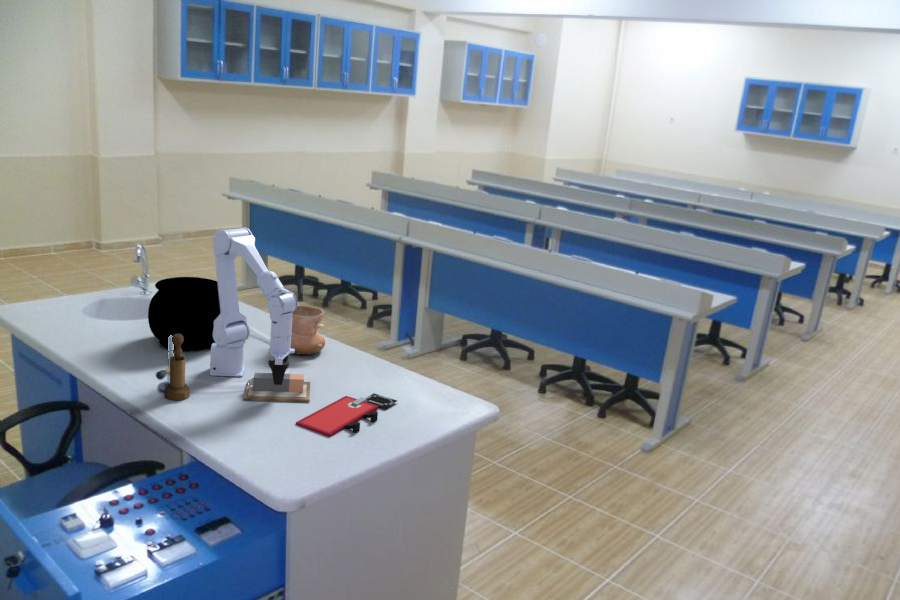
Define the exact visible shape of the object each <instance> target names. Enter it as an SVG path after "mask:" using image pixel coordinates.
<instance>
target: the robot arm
mask: <svg viewBox="0 0 900 600" xmlns="http://www.w3.org/2000/svg"><path fill="white" fill-rule="evenodd" d="M255 244H256V237H255V236H254V235H253V233H252V231H251V230H250V229H249V228H248V227H246V226H244V227H240V228H231V229H218V230H217V231H216V233H215V234H214V235H213V237H212V245H213V251H214V252H213V253H214V262H215V271H216V272H215V273H216V281H217V283H218V293H219V302H220V311H221V313H220V315H219V316H218V317H217V318H216V319H215V320H214V329H213V339H214V341H215V342H216V343H212V346H211V349H210V361H209V362H210V363H209V368H210V369H209V370H210V371H209V376H213V377H214V376H217V377H244V374H245V373H244V372H245V369H246V366H245V365H244V344H246V342H247V340H248V339H249V337H250V335H251V329H250V326H249V324H248V320H247V316H246V315H245V314H244V313H243V312H241V311H240V304H239V294H238V285H237V277H236V275H237V274H236V265H235V264H236V263H235V260H236V259H237V258H238V257H242V258H243V260H244V261H245V263H246V264H247V265H248V266H249V267H250V269H251V270H252V272H254V273H255V275H256V285H257V286H258V287H259V289H260V291H261V292H262V294H263V295H264V296H265V298H266V300H267V301H268V302H267V303H266V304H267V305H266V306H267V309H268V312H269V319H270V321H271V322H270V323H271V324H270V339H269V340H270V341H269V342H270V343H269V349H268V352H269V353H270V355H271V356H272V358H273V360H270V359H269V360H268V367H269V368H270V370H271V373H272V375H273V382H274V385H282V382H283V378H284V374H286V371H287V369H288V368H289V366H290V362H288V361H287V360H288V358H289V356H290V355H291V354H295V353H294V352H295V349H291V332H292V314H293V311H295V310H296V309H297V305H298V303H299V302H298V299H297V297H296V295H295V293H294V292H292V291H289V290H288V288H287V289H286V288H285V286H284V285H283V283H282V282H281V280H280V279H279V277H278V275H277V274H276V272H275V271H271V270H268V268H267V266H266V264H265V262H264V260H263V259H262V257H261V255H260V253H259V251H258V250H257V248H256V246H255ZM254 273H253V274H254Z"/></svg>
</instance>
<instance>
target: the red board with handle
mask: <svg viewBox="0 0 900 600" xmlns="http://www.w3.org/2000/svg"><path fill="white" fill-rule="evenodd" d="M397 402H398V400H397V399H394V398H391V397H388V396H384V395H381V394H377V393H372V394H370V395H368V396H366V397H365V398H364V397H359V398H358V399H357V398H354V397H351V396H348V395H345V396H343V397H341V398H339V399H337V400H335V401H334V402H332V403H329V404H328V405H326V406H324V407H321V408H320V409H318V410H316V411H314V412H313V413H311V414H309V415H307V416H305V417H302V419H299V420H297V421H296V422H295V426H296V425H297V426H298V427H302V428H305V429H307V430H309V431H312V432H315V433H318V434H320V435H323V436H326V437H329V438H331V437H332V436H335V435H336V434H338V433H339V432H341V431H343V430H346V429H347V430H352V433H353V434H357V433H359V432H360V430H361V422H360V420H362V419H370V423H376V422H377V421H378V414H379V411H377V410H379V407H381V408H384V409H386V408H389V407H390V406H392V405H393V404H395V403H397ZM375 421H376V422H375Z"/></svg>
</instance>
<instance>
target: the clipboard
mask: <svg viewBox="0 0 900 600" xmlns="http://www.w3.org/2000/svg"><path fill="white" fill-rule="evenodd" d="M249 380H250V379H248V380H247V383H249ZM310 397H311V381H304V386H303V393H302V392H273V391H253V385H248V386H247V385H246V388H245V392H244V396H243V400H244V401H254V402H255V401H256V402H257V401H259V402H263V401H264V402H285V403H286V402H288V403H289V402H290V403H291V402H292V403H293V402H294V403H310V402H311V401H310Z"/></svg>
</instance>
